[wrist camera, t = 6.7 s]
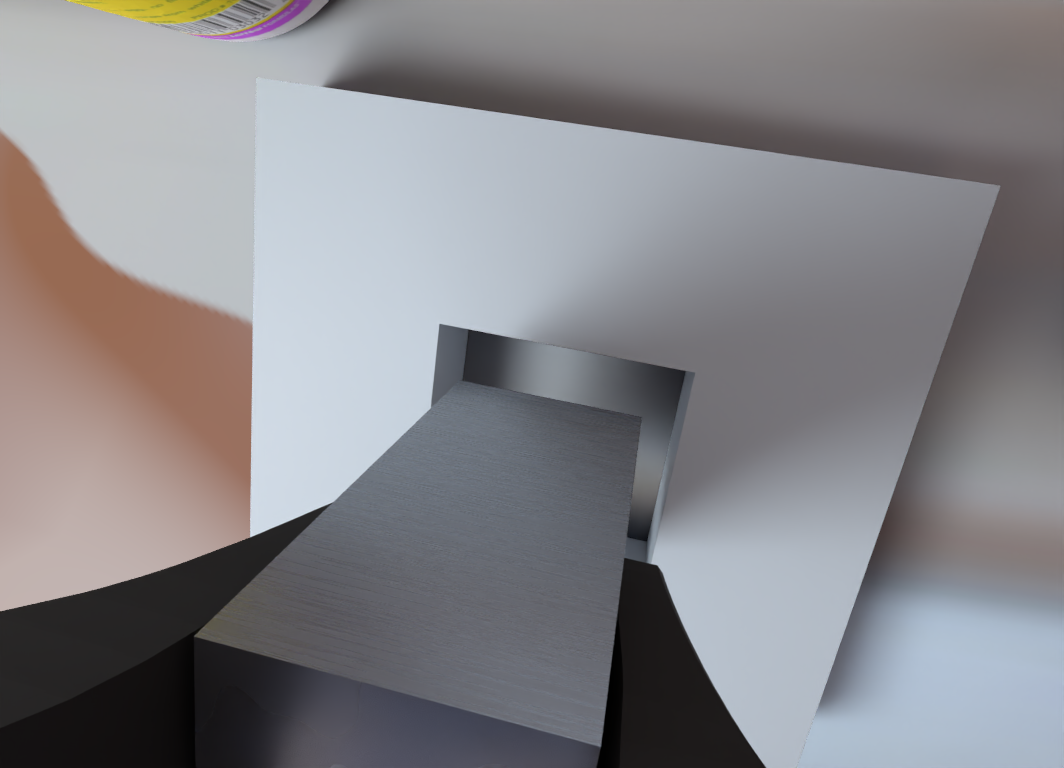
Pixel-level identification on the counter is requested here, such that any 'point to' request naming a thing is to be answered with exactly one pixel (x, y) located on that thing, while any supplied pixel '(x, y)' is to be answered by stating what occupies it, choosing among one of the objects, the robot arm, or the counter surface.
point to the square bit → (437, 602)
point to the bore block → (618, 337)
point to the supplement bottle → (216, 15)
